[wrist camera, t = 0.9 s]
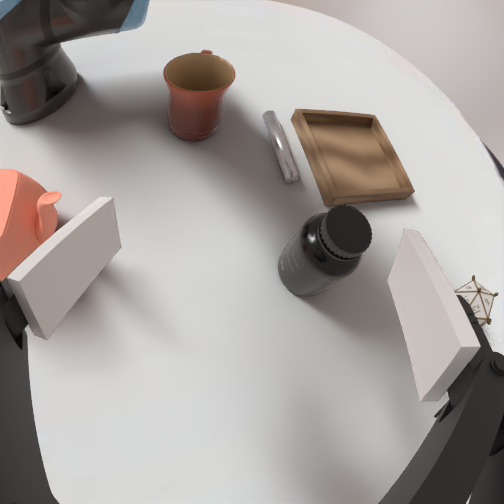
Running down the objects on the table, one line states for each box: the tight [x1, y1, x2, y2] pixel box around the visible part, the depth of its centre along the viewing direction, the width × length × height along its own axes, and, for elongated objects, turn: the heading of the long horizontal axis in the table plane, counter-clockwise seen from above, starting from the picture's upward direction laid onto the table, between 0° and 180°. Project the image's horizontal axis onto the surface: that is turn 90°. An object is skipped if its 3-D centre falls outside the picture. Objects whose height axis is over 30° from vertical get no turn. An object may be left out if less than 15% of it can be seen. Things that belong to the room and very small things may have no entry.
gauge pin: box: [263, 111, 300, 183], centre depth 42 cm, size 12×2×2 cm, turn 14°
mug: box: [163, 50, 235, 141], centre depth 37 cm, size 12×9×10 cm
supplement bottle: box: [278, 205, 372, 296], centre depth 31 cm, size 7×7×12 cm
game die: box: [454, 275, 498, 326], centre depth 36 cm, size 9×8×10 cm
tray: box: [291, 109, 415, 206], centre depth 44 cm, size 16×16×2 cm
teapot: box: [0, 169, 61, 282], centre depth 25 cm, size 20×12×12 cm, turn 95°
